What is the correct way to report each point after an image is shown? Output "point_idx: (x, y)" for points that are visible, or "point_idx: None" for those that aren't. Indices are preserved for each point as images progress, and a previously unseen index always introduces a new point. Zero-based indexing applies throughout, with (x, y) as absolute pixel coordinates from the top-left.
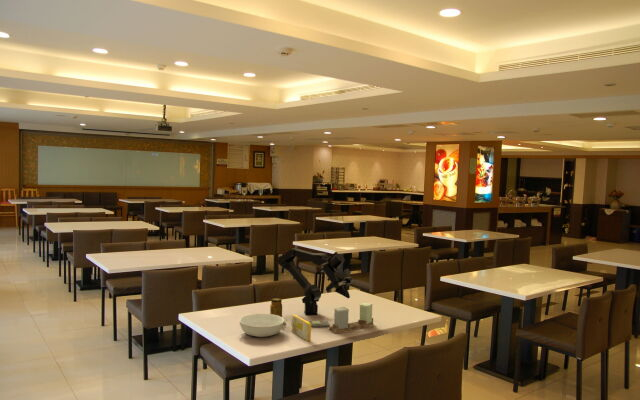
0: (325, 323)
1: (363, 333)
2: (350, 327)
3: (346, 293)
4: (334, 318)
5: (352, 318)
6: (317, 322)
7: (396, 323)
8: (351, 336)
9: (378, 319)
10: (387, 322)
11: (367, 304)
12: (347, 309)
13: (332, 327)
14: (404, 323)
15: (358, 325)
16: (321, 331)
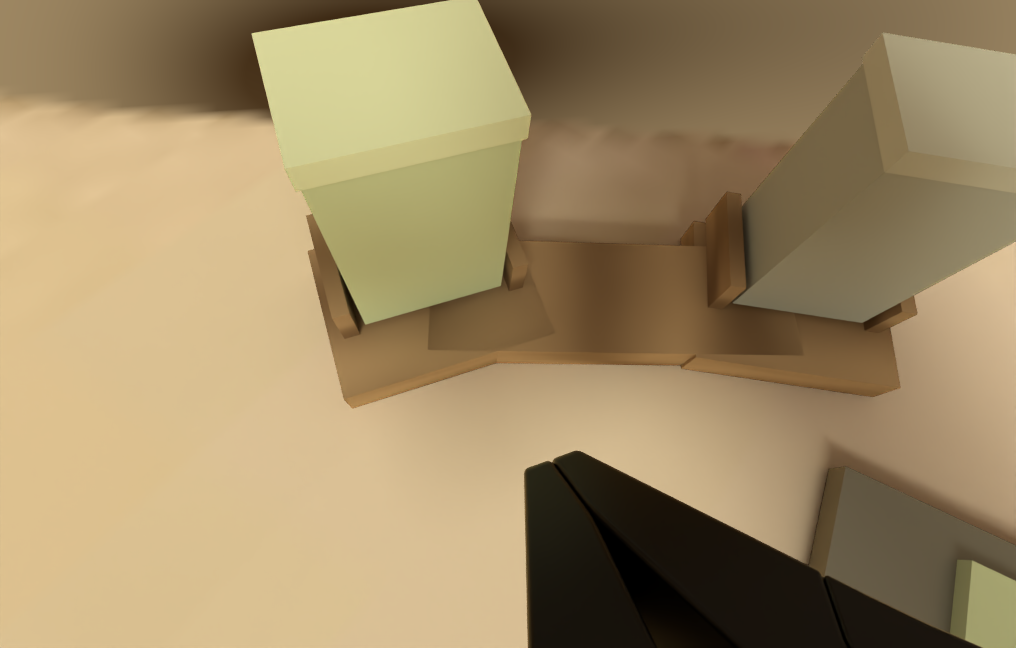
0: (876, 560)
1: (604, 139)
2: (675, 247)
3: (725, 527)
4: (951, 270)
5: (328, 638)
6: (1004, 620)
7: (71, 165)
8: (747, 141)
9: (75, 383)
10: (112, 238)
11: (382, 51)
12: (906, 40)
13: (881, 328)
14: (5, 124)
15: (561, 242)
16: (971, 392)
